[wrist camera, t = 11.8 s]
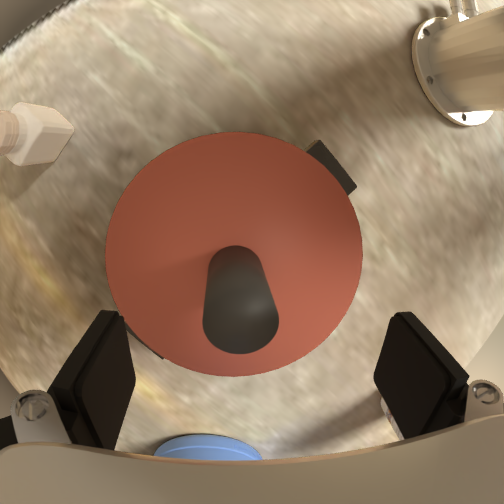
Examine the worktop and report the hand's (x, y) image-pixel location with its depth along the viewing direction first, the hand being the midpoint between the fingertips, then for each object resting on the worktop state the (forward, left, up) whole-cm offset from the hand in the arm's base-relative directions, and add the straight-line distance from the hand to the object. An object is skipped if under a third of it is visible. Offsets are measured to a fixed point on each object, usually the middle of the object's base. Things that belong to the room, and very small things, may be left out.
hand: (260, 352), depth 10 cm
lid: (0, 0, -11) cm, 11 cm away
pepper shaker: (-9, -17, -18) cm, 26 cm away
